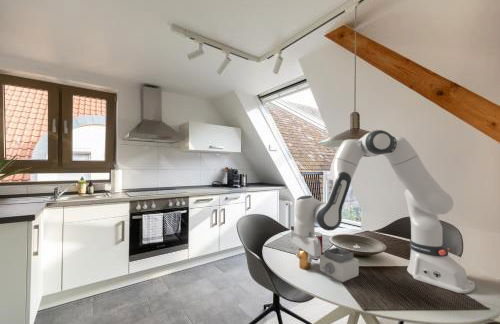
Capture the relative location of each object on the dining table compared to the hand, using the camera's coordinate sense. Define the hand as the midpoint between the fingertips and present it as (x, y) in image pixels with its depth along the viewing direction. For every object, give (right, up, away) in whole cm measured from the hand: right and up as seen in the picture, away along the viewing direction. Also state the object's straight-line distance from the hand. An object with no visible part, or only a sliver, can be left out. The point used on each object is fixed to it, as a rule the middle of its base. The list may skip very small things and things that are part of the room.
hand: (305, 259), depth 110 cm
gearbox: (+12, -4, -7) cm, 14 cm away
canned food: (+9, -4, +16) cm, 19 cm away
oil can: (-1, -4, 0) cm, 4 cm away
